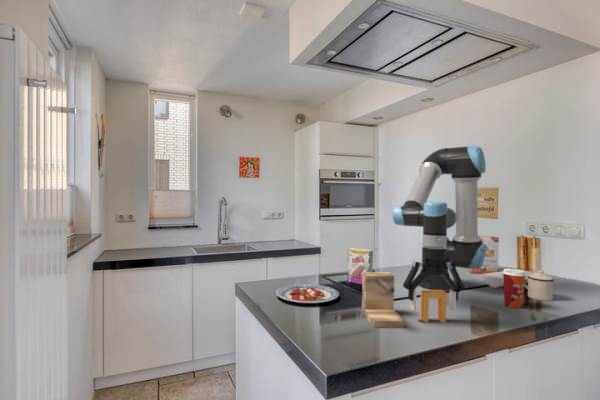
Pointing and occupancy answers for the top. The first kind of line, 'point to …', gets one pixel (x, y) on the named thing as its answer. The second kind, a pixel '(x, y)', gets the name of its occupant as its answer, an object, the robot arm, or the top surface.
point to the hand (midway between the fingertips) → (432, 310)
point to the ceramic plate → (307, 293)
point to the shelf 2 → (499, 278)
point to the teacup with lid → (540, 286)
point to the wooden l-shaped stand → (380, 300)
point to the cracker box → (489, 256)
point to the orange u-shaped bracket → (425, 304)
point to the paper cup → (513, 287)
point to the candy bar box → (359, 264)
